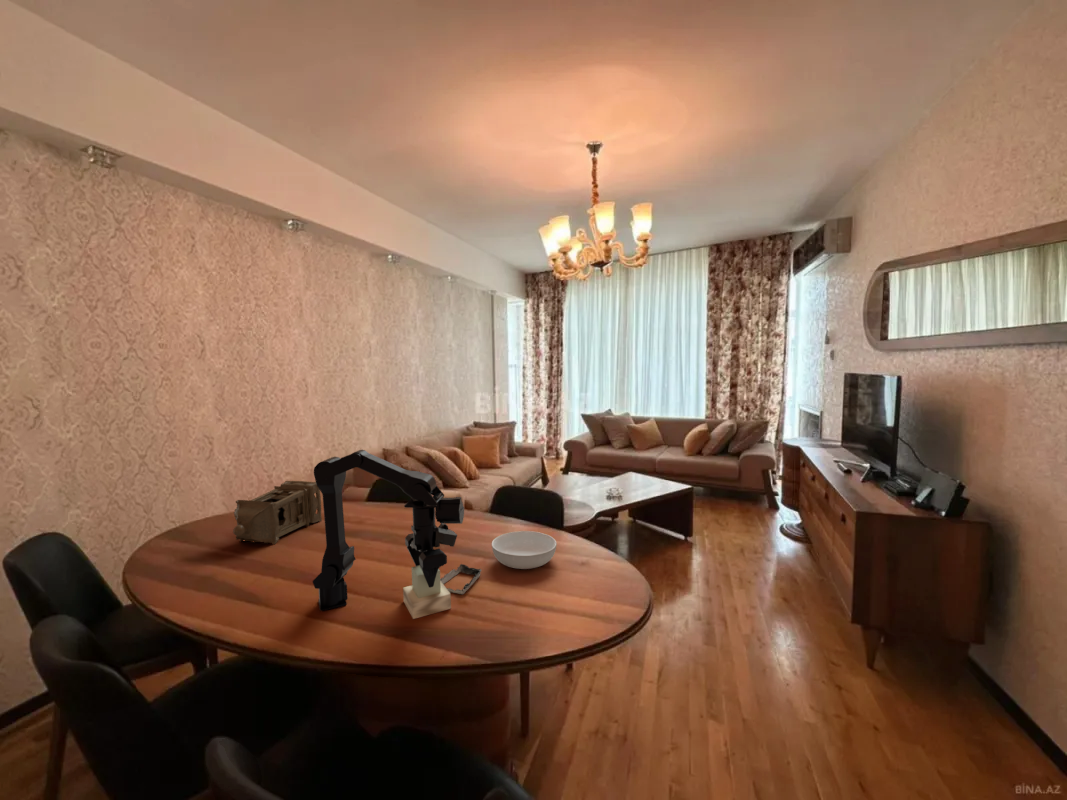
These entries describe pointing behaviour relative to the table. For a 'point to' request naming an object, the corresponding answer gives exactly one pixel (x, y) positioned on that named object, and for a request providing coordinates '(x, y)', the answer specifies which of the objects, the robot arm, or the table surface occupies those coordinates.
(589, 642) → the table surface
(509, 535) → the serving bowl
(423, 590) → the green cube
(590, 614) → the table surface
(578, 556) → the table surface
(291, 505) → the toy tower
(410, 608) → the beige square block
